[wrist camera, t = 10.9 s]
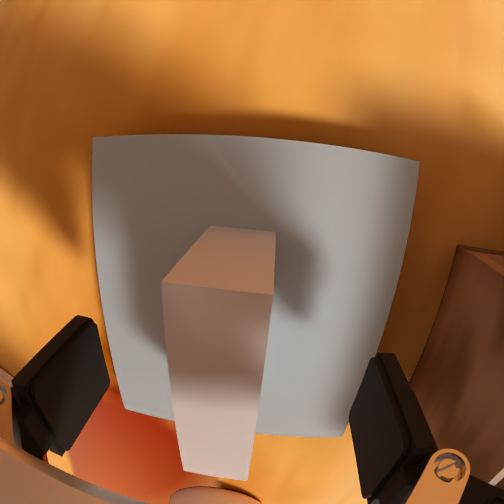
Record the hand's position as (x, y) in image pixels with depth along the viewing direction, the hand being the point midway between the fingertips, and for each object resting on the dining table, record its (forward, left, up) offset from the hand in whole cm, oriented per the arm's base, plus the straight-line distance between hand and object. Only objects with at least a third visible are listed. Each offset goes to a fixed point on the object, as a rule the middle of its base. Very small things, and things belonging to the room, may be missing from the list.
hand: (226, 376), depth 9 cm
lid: (0, 0, -5) cm, 5 cm away
